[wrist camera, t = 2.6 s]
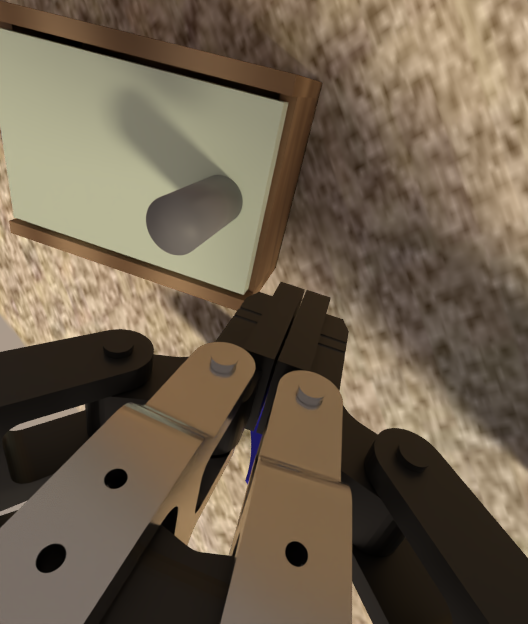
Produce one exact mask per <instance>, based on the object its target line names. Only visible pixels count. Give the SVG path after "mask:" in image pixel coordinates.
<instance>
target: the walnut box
mask: <svg viewBox="0 0 528 624" xmlns="http://www.w3.org/2000/svg"><path fill="white" fill-rule="evenodd" d="M0 27H1V28H5V29H9V30H12V31H16V32H20V33H24V34H28V35H32V36H35V37H39V38H43V39H47V40H51V41H55V42H58V43H62V44H66V45H70V46H74V47H78V48H81V49H85V50H89V51H93V52H97V53H101V54H104V55H108V56H112V57H116V58H120V59H124V60H127V61H131V62H135V63H139V64H143V65H147V66H150V67H154V68H158V69H162V70H166V71H170V72H173V73H177V74H181V75H185V76H189V77H193V78H196V79H200V80H204V81H208V82H212V83H216V84H219V85H223V86H227V87H231V88H235V89H239V90H242V91H246V92H250V93H254V94H258V95H261V96H265V97H269V98H273V99H277V100H281V101H284V102H288V108H287V112H286V117H285V122H284V126H283V131H282V135H281V140H280V145H279V149H278V154H277V159H276V163H275V168H274V172H273V177H272V182H271V186H270V191H269V196H268V200H267V205H266V209H265V214H264V219H263V223H262V228H261V232H260V237H259V242H258V246H257V251H256V256H255V260H254V265H253V269H252V274H251V279H250V283H249V288H248V290H247V291H246V292H245V294H244V295H242V294H239V293H236V292H233V291H230V290H227V289H224V288H222V287H219V286H216V285H213V284H210V283H207V282H204V281H201V280H198V279H195V278H192V277H189V276H186V275H183V274H180V273H177V272H174V271H171V270H168V269H165V268H162V267H159V266H157V265H154V264H151V263H148V262H145V261H142V260H139V259H136V258H133V257H130V256H127V255H124V254H121V253H118V252H115V251H112V250H109V249H106V248H103V247H100V246H97V245H95V244H92V243H89V242H86V241H83V240H80V239H77V238H74V237H71V236H68V235H65V234H62V233H59V232H56V231H53V230H50V229H47V228H44V227H41V226H38V225H35V224H32V223H30V222H27V221H24V220H21V219H18V218H17V219H13V220H10V221H9V223H10V229H11V233H13V234H16V235H19V236H22V237H25V238H28V239H31V240H34V241H36V242H39V243H42V244H45V245H48V246H51V247H54V248H57V249H60V250H62V251H65V252H68V253H71V254H74V255H77V256H80V257H83V258H86V259H88V260H91V261H94V262H97V263H100V264H103V265H106V266H109V267H112V268H115V269H117V270H120V271H123V272H126V273H129V274H132V275H135V276H138V277H141V278H143V279H146V280H149V281H152V282H155V283H158V284H161V285H164V286H167V287H170V288H172V289H175V290H178V291H181V292H184V293H187V294H190V295H193V296H196V297H198V298H201V299H204V300H207V301H210V302H213V303H216V304H219V305H222V306H225V307H227V308H230V309H233V310H236V311H237V310H238V309H240V306H241V305H242V303H243V302H244V300H245V299H246V298H247V297H249V296H251V295H253V294H255V293H257V292H259V291H260V290H261V288H262V287H263V285H264V284H265V282H266V281H267V280H268V278H269V277H270V275H271V274H272V272H273V271H274V269H275V268H276V264H277V260H278V256H279V252H280V248H281V244H282V240H283V236H284V233H285V229H286V225H287V221H288V217H289V213H290V209H291V205H292V201H293V197H294V193H295V189H296V185H297V181H298V177H299V173H300V169H301V165H302V161H303V157H304V153H305V149H306V145H307V141H308V137H309V134H310V130H311V126H312V122H313V118H314V114H315V110H316V106H317V102H318V98H319V94H320V90H321V86H322V82H319V81H315V80H312V79H309V78H306V77H303V76H300V75H296V74H292V73H288V72H284V71H280V70H276V69H272V68H268V67H264V66H260V65H256V64H252V63H248V62H244V61H240V60H236V59H232V58H228V57H224V56H220V55H216V54H212V53H208V52H204V51H200V50H196V49H192V48H188V47H184V46H180V45H176V44H172V43H168V42H164V41H160V40H156V39H152V38H148V37H144V36H140V35H136V34H132V33H128V32H124V31H120V30H116V29H112V28H108V27H104V26H100V25H96V24H92V23H88V22H84V21H80V20H76V19H72V18H68V17H64V16H60V15H56V14H52V13H48V12H44V11H40V10H36V9H32V8H28V7H24V6H20V5H16V4H12V3H8V2H4V1H0Z"/></svg>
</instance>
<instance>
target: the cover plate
mask: <svg viewBox="0 0 528 624" xmlns="http://www.w3.org/2000/svg"><path fill="white" fill-rule="evenodd" d="M287 108H288V102H284V101H281V100H277V99H273V98H269V97H265V96H261V95H258V94H254V93H250V92H246V91H242V90H239V89H235V88H231V87H227V86H223V85H219V84H216V83H212V82H208V81H204V80H200V79H196V78H193V77H189V76H185V75H181V74H177V73H173V72H170V71H166V70H162V69H158V68H154V67H150V66H147V65H143V64H139V63H135V62H131V61H127V60H124V59H120V58H116V57H112V56H108V55H104V54H101V53H97V52H93V51H89V50H85V49H81V48H78V47H74V46H70V45H66V44H62V43H58V42H55V41H51V40H47V39H43V38H39V37H35V36H32V35H28V34H24V33H20V32H16V31H12V30H9V29H5V28H1V27H0V128H1V135H2V141H3V148H4V155H5V161H6V168H7V175H8V181H9V188H10V195H11V201H12V208H13V215H14V217H15V218H18V219H21V220H24V221H27V222H30V223H32V224H35V225H38V226H41V227H44V228H47V229H50V230H53V231H56V232H59V233H62V234H65V235H68V236H71V237H74V238H77V239H80V240H83V241H86V242H89V243H92V244H95V245H97V246H100V247H103V248H106V249H109V250H112V251H115V252H118V253H121V254H124V255H127V256H130V257H133V258H136V259H139V260H142V261H145V262H148V263H151V264H154V265H157V266H159V267H162V268H165V269H168V270H171V271H174V272H177V273H180V274H183V275H186V276H189V277H192V278H195V279H198V280H201V281H204V282H207V283H210V284H213V285H216V286H219V287H222V288H224V289H227V290H230V291H233V292H236V293H239V294H242V295H244V294H245V292H246V291H247V290H248V288H249V283H250V279H251V274H252V269H253V265H254V260H255V256H256V251H257V246H258V242H259V237H260V232H261V228H262V223H263V219H264V214H265V209H266V205H267V200H268V196H269V191H270V186H271V182H272V177H273V172H274V168H275V163H276V159H277V154H278V149H279V145H280V140H281V135H282V131H283V126H284V122H285V117H286V112H287Z"/></svg>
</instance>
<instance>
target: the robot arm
mask: <svg viewBox="0 0 528 624" xmlns="http://www.w3.org/2000/svg"><path fill="white" fill-rule="evenodd" d="M304 290H305V289H302V288H299V287H296V286H293V285H290V284H287V283H283V282H281V283H280V284H279V286H278V288H277V289H276V291H275V293H274V295H273V296H270V295H267V294H264V293H261V292H257V293H255V294H253V295H251V296H249V297H247V298H246V299H245V300H244V302H243V303H242V305H241V306H240V309H238V310H237V312H236V313H235V315H234V316H233V318H232V319H231V320H230V322H229V323H228V325H227V326H226V328H225V329H224V330H223V332H222V333H221V335H220V336H219V338H218V339H217V340H216V342H212V343H207V344H204V345H202V346H200V347H199V348H197V349H196V350H195V351H194V352H193V353H192V354H191V355H190V357H172V356H163V355H154V354H153V353H154V348H153V345H152V343H151V341H150V340H149V339H148V338H147V337H146V336H144V335H142V334H140V333H138V332H135V331H131V330H122V329H117V330H108V331H103V332H98V333H93V334H88V335H83V336H78V337H73V338H68V339H63V340H58V341H53V342H48V343H43V344H38V345H33V346H28V347H24V348H18V349H13V350H8V351H3V352H0V511H2V510H5V509H7V508H10V507H12V506H15V505H17V504H20V503H22V502H25V501H27V500H28V501H27V502H26V503H25V504H24V505H23V506H22V507H21V508H20V509H19V510H17V511H14V512H11V513H8V514H4V515H2V516H0V624H352V582H353V584H354V586H355V588H356V590H357V592H358V594H359V596H360V598H361V600H362V602H363V604H364V606H365V608H366V610H367V613H368V615H369V617H370V619H371V621H372V623H373V624H528V558H527V557H526V555H525V554H524V553H523V552H522V551H521V549H520V548H519V547H518V546H517V545H516V544H515V542H514V541H513V540H512V539H511V538H510V536H509V535H508V534H507V533H506V532H505V530H504V529H503V528H502V527H501V526H500V525H499V523H498V522H497V521H496V520H495V519H494V517H493V516H492V515H491V514H490V513H489V511H488V510H487V509H486V508H485V507H484V506H483V504H482V503H481V502H480V501H479V500H478V498H477V497H476V496H475V495H474V494H473V492H472V491H471V490H470V489H469V488H468V487H467V485H466V484H465V483H464V482H463V481H462V479H461V478H460V477H459V476H458V475H457V473H456V472H455V471H454V470H453V469H452V467H451V466H450V465H449V464H448V463H447V462H446V460H445V459H444V458H443V457H442V456H441V454H440V453H439V452H438V451H437V450H436V449H435V448H434V447H433V446H432V445H431V444H430V443H429V442H428V441H426V440H425V439H424V438H422V437H420V436H419V435H417V434H415V433H413V432H410V431H407V430H404V429H399V428H390V429H386V430H383V431H382V432H380V433H379V434H378V435H377V434H376V433H374V432H373V431H371V430H370V429H368V428H367V427H365V426H364V425H362V424H361V423H359V422H358V421H357V420H355V419H354V418H353V417H352V416H351V415H350V414H349V413H348V412H347V410H346V409H345V407H344V406H343V399H342V396H341V394H340V392H339V390H340V383H341V377H342V370H343V364H344V358H345V351H346V344H347V338H348V332H349V331H348V329H347V327H346V325H345V323H344V321H343V319H340V318H337V317H334V316H331V315H328V314H326V312H327V309H328V305H329V302H330V297H327V296H324V295H321V294H318V293H315V292H312V291H308V290H306V293H305V295H304V298H303V294H304ZM302 298H303V300H302ZM301 301H302V302H301ZM300 304H301V305H300ZM84 404H85V410H84V411H81V412H78V413H74V414H71V415H68V416H65V417H62V418H58V419H55V420H52V421H49V422H46V423H42V424H39V425H36V426H32V427H29V428H26V429H23V430H18V431H9V430H10V429H11V428H13V427H15V426H16V425H18V424H21V423H24V422H27V421H30V420H34V419H37V418H40V417H43V416H47V415H50V414H54V413H57V412H60V411H64V410H67V409H70V408H74V407H77V406H80V405H84ZM263 406H264V408H263ZM262 409H263V411H262ZM261 411H262V414H261ZM260 414H261V418H260V421H259V424H258V428H257V431H256V433H259V434H262V438H261V441H260V444H259V447H258V451H257V454H256V457H255V460H254V463H253V467H252V470H251V474H250V478H249V482H248V486H247V489H246V493H245V497H244V501H243V504H242V508H241V512H240V516H239V519H238V523H237V527H236V531H235V534H234V538H233V542H232V545H231V549H230V552H229V556H227V555H219V554H210V553H202V552H197V551H195V550H192V549H191V548H189V547H188V546H187V545H188V542H189V539H190V537H191V534H192V532H193V529H194V527H195V525H196V523H197V521H198V519H199V517H200V515H201V513H202V511H203V509H204V508H205V506H206V504H207V502H208V500H209V498H210V496H211V494H212V493H213V491H214V489H215V487H216V485H217V483H218V481H219V480H220V478H221V476H222V474H223V472H224V470H225V468H226V466H227V465H228V463H229V461H230V459H231V457H232V455H233V453H234V449H235V447H236V445H237V444H238V442H239V440H240V438H241V436H242V433H243V431H244V429H248V430H251V431H253V432H254V429H255V426H256V424H257V421H258V419H259V416H260Z"/></svg>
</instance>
